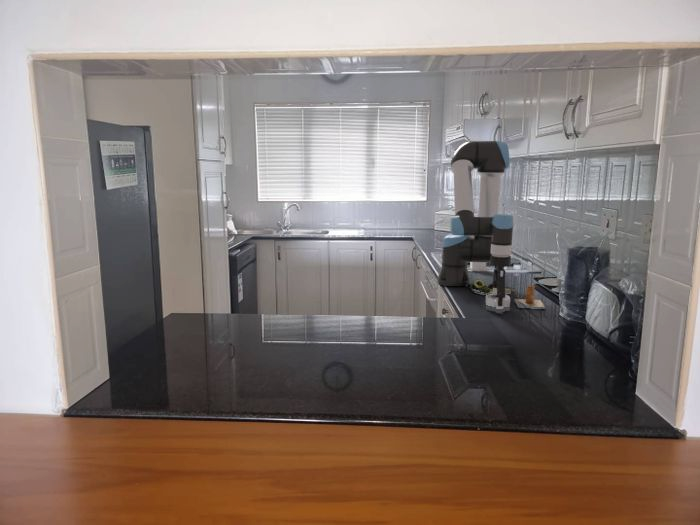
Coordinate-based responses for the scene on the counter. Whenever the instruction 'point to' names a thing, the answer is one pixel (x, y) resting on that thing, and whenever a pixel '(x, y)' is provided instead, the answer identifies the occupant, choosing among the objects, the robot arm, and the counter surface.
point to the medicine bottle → (478, 266)
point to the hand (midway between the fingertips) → (497, 309)
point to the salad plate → (486, 287)
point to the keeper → (531, 298)
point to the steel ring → (492, 300)
